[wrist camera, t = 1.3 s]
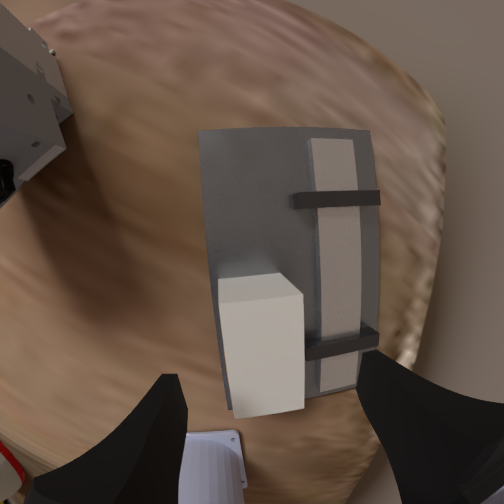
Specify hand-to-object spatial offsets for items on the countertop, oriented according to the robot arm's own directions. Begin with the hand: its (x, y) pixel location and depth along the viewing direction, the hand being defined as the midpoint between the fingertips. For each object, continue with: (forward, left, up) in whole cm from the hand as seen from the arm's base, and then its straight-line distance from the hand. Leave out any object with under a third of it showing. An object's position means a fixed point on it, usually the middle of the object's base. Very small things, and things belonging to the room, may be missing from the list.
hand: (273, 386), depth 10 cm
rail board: (+2, -4, -10) cm, 11 cm away
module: (-1, 0, -9) cm, 9 cm away
